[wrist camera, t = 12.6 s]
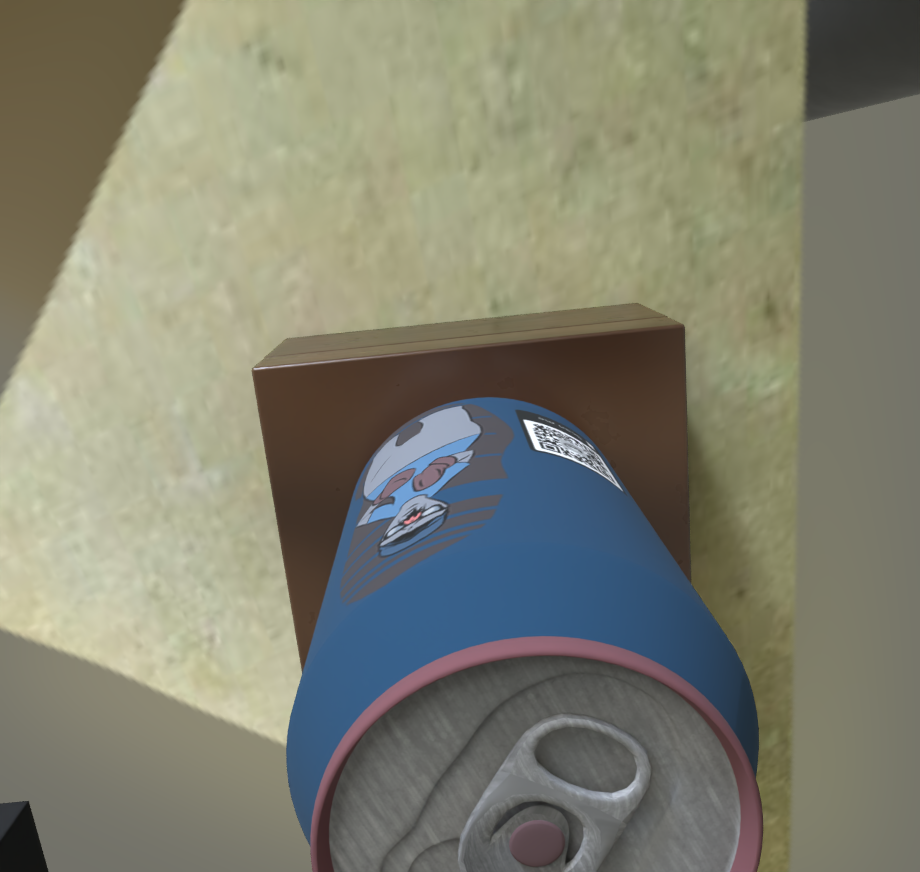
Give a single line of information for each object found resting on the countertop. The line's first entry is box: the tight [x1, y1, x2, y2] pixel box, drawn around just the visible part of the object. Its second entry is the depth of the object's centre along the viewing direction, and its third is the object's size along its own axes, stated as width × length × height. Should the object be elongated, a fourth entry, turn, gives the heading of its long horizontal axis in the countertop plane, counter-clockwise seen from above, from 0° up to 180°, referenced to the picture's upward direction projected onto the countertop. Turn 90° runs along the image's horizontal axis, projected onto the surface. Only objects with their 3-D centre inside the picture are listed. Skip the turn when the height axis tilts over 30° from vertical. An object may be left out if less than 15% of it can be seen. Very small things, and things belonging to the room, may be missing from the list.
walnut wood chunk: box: [252, 303, 691, 673], centre depth 24 cm, size 9×11×5 cm
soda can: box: [286, 397, 763, 872], centre depth 16 cm, size 7×7×12 cm
